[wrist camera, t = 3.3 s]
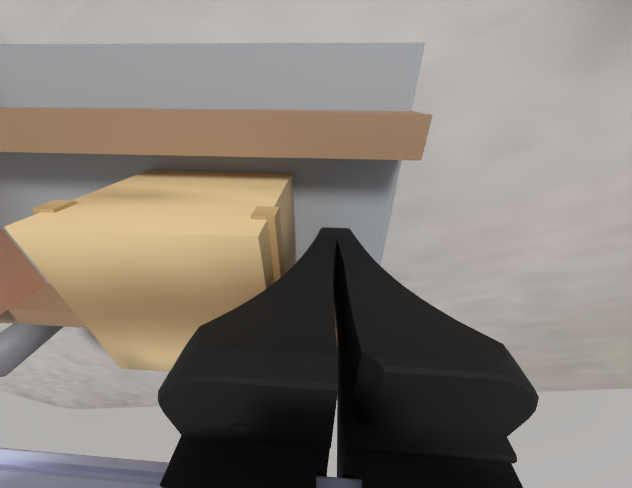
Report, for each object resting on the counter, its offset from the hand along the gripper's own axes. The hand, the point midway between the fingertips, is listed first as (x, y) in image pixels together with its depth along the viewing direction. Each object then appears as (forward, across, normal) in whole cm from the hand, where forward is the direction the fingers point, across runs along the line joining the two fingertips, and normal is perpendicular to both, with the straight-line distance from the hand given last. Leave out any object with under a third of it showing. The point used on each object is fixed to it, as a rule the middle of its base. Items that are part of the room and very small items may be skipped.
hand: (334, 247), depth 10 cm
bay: (+2, +8, 0) cm, 8 cm away
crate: (+1, +5, 0) cm, 5 cm away
